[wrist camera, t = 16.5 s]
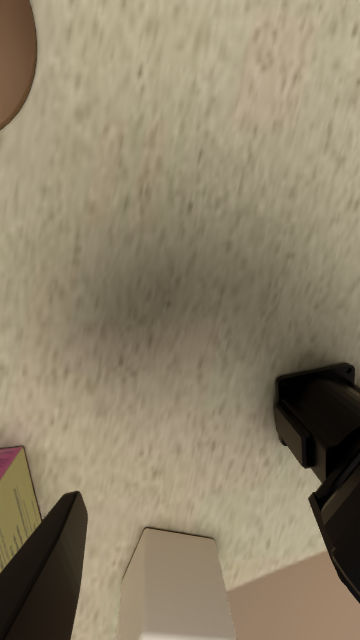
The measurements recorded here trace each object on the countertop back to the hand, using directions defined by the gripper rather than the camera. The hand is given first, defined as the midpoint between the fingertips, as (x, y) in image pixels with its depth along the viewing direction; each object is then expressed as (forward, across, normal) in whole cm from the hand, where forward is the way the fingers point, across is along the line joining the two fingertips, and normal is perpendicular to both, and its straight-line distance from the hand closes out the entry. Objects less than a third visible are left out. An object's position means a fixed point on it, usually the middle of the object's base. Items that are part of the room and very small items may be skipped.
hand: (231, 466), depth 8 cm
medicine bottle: (+12, +5, +22) cm, 26 cm away
